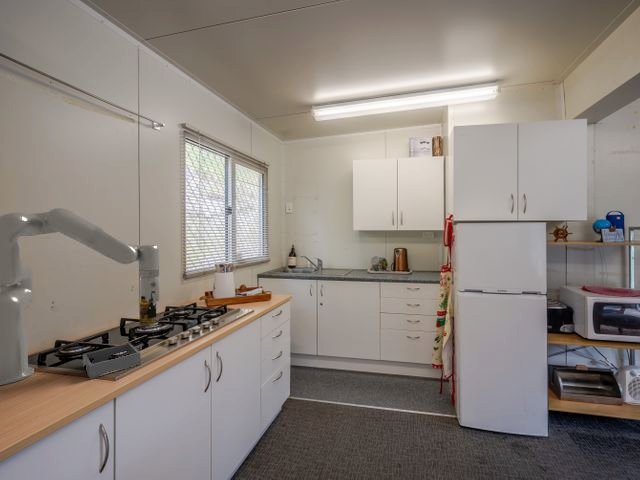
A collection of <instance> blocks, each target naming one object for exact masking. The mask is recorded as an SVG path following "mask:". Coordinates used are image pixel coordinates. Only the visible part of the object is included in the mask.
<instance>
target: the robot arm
mask: <svg viewBox="0 0 640 480" xmlns="http://www.w3.org/2000/svg"><path fill="white" fill-rule="evenodd" d="M55 233H60V234H62V235H64V236H66V237H68V238H70V239H73V240H75V241H76V242H78V243H81V244H82V245H84V246H86V247H87V248H90V249H91V250H94V251H96V252H97V253H99V254H101V255H103V256H105V257H107V258H108V259H110V260H113V261H115V262H117V263H120V264H123V265H130V264H132V263H134V262H138V278H139V279H140V297H141V296H143V297H145V300H146V302H148V308H149V309H148V318H155V317H156V318H157V302H159V301H160V298H161V297H160V294H161V293H160V284H159V283H160V282H159V278H160V247H159V246H158V245H155V244H143V245H137V244H127V243H125V242H124V241H121V240H119V239H117V238H115V237H114V236H112V235H110V234H108V233H107V232H106V231H105V230H104V229H103V228H102V227H101V226H99V225H97V224H95V223H92V222H91V221H89V220H87V219H84V218H83V217H81V216H79V215H77V214H76V213H75V212H74V211H72V210H70V209H65V208H62V207H61V208H59V207H58V208H57V207H56V208H53V209H51V210H49V211H46V212H45V211H44V212H37V213H26V212H9V213H5V214H2V215H0V386H4V385H9V384H12V383H16V382H19V381H22V380H25V379H26V378H28V377H30V376H32V375H33V374H34V373H35V368H34V367H31V366H29V357H28V339H27V338H28V335H27V325H26V324H27V323H26V318H25V316H24V315H25V314H24V311H25V310H26V309H28V308H29V307H30V306H31V305H32V304H33V301H34V298H35V297H34V294H35V293H34V281H33V279H34V278H33V277H34V276H33V270H32V268H31V266H30V264H29V263H27V262H26V261H24V260H23V259H22V260H21V258H20V257H21V255H20V247H19V243H18V239H19V238H20V237H32V236H34V237H35V236H39V235H47V234H55ZM150 300H152V301H150ZM150 303H151V305H150Z"/></svg>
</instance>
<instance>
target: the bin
mask: <svg viewBox="0 0 640 480" xmlns="http://www.w3.org/2000/svg"><path fill="white" fill-rule="evenodd" d="M124 351H129V355H126V356H122V357H118V358H115V359H111V360H107V359H108V358H109V356H111V355H113V354H116V353H120V352H124ZM88 358H94V360H93V363H91V362H90V360H89V359H88ZM141 359H142V358H141V352H140V350H138V349H137V348H136V347H135V346H134V345H133V344H131V342H129V343H124V344H121V345H116V346H111V347H108V348H104V349H99V350H95V351H90V352H87V353H83V354H82V367H83V368H84V366H85V365H86V371H87V372H88V374H87V377H88V378H89V380H94V379H97V378H100V377H99V376H100V375H102V374H104V373H107V372H111V371H114V370H118V369H122V368H127V367H131V366H134V365H139V364H141V365H142V363H141ZM139 366H140V365H139ZM86 371H85V372H86Z"/></svg>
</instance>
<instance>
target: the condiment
mask: <svg viewBox="0 0 640 480" xmlns="http://www.w3.org/2000/svg"><path fill="white" fill-rule="evenodd" d="M150 301H152V300H150ZM150 305H151V303H150ZM148 309H149V308H148V302H146V300H145V297H143V296H141V295H140V302H139V322H138V325H137V327H145V326H146V327H147V326H153V325H158V324H159V320H160V318H157V316H156V317H155V318H148Z"/></svg>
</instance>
